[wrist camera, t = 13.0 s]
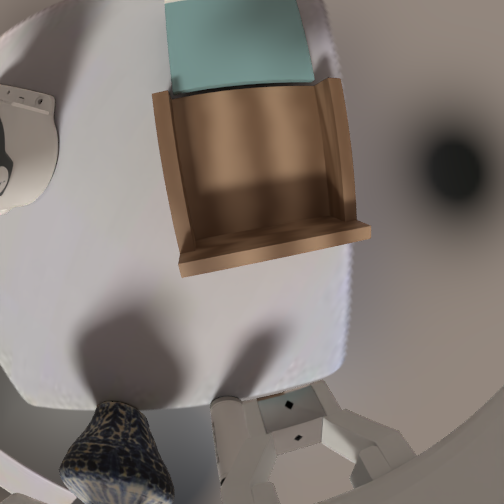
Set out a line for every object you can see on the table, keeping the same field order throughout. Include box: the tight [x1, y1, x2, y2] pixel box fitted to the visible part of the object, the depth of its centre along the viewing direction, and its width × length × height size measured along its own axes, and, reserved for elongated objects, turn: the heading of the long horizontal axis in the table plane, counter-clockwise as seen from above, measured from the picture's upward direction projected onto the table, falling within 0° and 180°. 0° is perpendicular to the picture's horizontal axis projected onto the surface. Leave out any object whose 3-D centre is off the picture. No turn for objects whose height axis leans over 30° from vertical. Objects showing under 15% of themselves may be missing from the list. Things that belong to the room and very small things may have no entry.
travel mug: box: [210, 396, 250, 486], centre depth 35 cm, size 6×7×20 cm
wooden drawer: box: [152, 78, 371, 278], centre depth 28 cm, size 20×18×10 cm
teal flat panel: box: [165, 0, 315, 95], centre depth 24 cm, size 16×1×14 cm
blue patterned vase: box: [59, 401, 174, 504], centre depth 28 cm, size 21×19×30 cm
